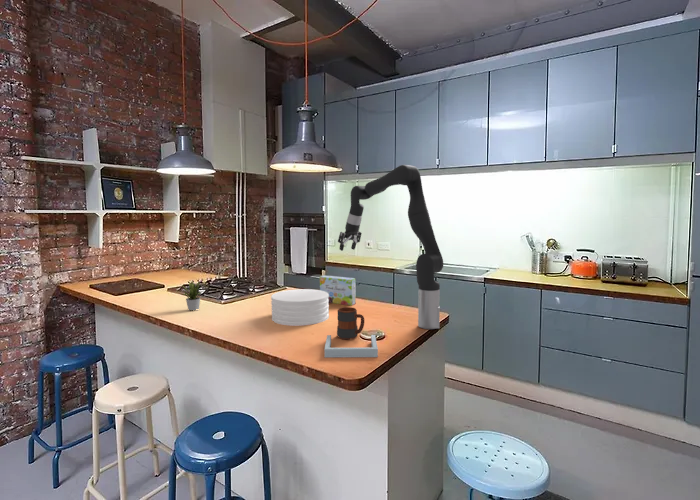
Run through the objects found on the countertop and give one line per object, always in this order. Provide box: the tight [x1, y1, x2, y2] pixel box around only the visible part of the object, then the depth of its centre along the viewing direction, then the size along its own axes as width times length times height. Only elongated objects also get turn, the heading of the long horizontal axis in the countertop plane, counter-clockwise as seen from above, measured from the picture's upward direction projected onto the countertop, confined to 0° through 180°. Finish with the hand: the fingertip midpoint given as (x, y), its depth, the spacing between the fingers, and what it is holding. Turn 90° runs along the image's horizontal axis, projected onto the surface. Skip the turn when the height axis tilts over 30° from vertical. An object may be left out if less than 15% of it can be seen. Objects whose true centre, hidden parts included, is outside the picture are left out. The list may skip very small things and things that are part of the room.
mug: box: [336, 306, 365, 341], centre depth 155 cm, size 9×12×12 cm
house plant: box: [181, 280, 206, 311], centre depth 201 cm, size 14×14×16 cm
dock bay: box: [324, 334, 379, 358], centre depth 142 cm, size 19×16×3 cm
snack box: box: [319, 274, 357, 307], centre depth 215 cm, size 21×6×15 cm, turn 62°
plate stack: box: [270, 288, 330, 327], centre depth 186 cm, size 28×28×12 cm
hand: (347, 249), depth 208 cm, fingers open, 8 cm apart
